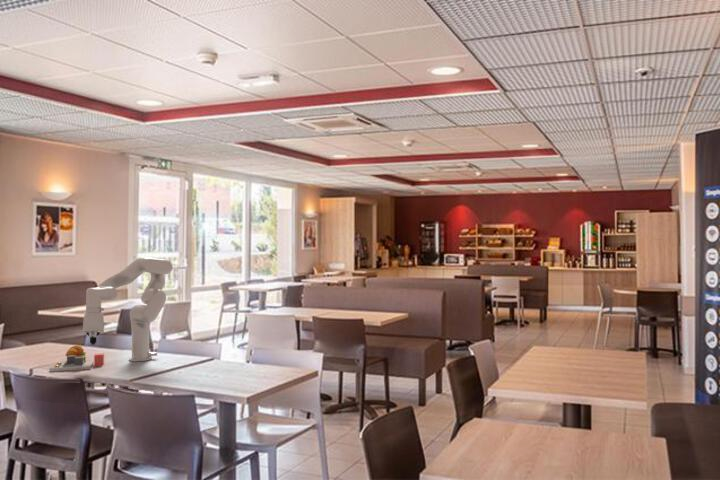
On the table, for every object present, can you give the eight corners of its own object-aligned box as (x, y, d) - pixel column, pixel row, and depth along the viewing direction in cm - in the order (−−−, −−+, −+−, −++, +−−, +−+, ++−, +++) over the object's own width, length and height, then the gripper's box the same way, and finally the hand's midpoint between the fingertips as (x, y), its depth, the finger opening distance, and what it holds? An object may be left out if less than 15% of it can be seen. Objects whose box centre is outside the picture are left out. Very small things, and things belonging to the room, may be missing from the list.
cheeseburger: (90, 359, 356) (88, 343, 353) (80, 367, 345) (78, 351, 343) (74, 358, 357) (71, 342, 354) (63, 366, 346) (61, 350, 344)
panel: (93, 364, 340) (93, 359, 340) (90, 369, 329) (90, 363, 329) (54, 367, 335) (54, 361, 335) (49, 371, 323) (49, 366, 323)
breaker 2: (83, 364, 332) (83, 356, 332) (82, 365, 329) (82, 357, 329) (75, 364, 331) (75, 357, 331) (74, 365, 328) (74, 358, 328)
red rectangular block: (104, 364, 343) (104, 353, 343) (103, 365, 339) (103, 354, 338) (95, 364, 342) (95, 353, 342) (94, 366, 337) (94, 355, 337)
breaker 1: (76, 362, 337) (76, 355, 337) (75, 363, 333) (74, 356, 333) (68, 362, 335) (68, 355, 335) (67, 364, 332) (66, 356, 332)
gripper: (109, 309, 337) (108, 342, 337) (79, 310, 333) (79, 343, 333) (107, 311, 330) (107, 345, 330) (77, 311, 326) (76, 346, 326)
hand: (93, 344), depth 331 cm, fingers closed
